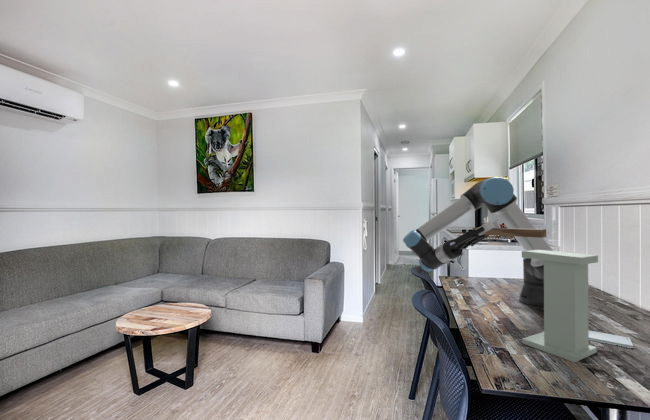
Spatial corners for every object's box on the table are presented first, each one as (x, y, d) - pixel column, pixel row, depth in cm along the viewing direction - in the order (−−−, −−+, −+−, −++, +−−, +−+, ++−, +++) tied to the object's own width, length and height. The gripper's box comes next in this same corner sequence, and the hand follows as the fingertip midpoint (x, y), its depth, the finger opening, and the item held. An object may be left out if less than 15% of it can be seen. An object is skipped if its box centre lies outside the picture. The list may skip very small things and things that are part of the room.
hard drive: (629, 337, 100) (580, 327, 108) (633, 345, 93) (580, 335, 101) (629, 342, 100) (580, 332, 108) (633, 351, 93) (580, 340, 101)
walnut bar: (477, 233, 119) (477, 227, 119) (546, 237, 98) (546, 229, 98) (472, 234, 118) (472, 227, 118) (541, 237, 97) (541, 229, 97)
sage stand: (541, 334, 104) (541, 249, 104) (601, 353, 90) (600, 255, 90) (519, 342, 98) (518, 251, 98) (579, 363, 84) (578, 257, 84)
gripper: (465, 258, 131) (513, 232, 113) (439, 260, 123) (486, 233, 106) (458, 242, 134) (503, 215, 117) (431, 243, 127) (476, 215, 109)
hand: (495, 224), depth 111 cm, fingers closed on walnut bar, 3 cm apart
